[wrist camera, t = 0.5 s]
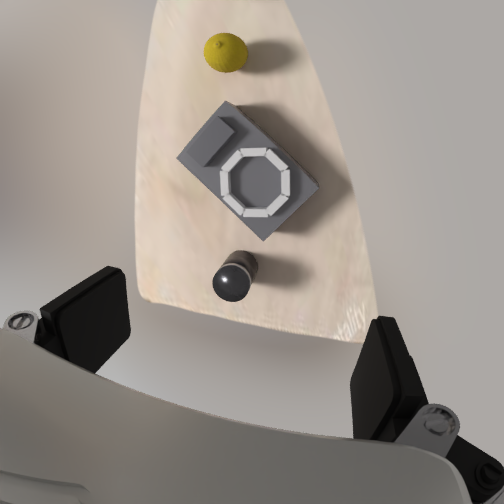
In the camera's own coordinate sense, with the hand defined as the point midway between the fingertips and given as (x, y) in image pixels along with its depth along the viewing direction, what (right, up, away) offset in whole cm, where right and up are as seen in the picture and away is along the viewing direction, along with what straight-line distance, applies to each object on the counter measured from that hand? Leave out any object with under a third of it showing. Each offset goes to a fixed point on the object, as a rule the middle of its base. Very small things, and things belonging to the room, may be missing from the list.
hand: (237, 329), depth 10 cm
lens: (-1, +1, +36) cm, 36 cm away
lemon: (-2, +30, +26) cm, 40 cm away
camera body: (+1, +14, +31) cm, 34 cm away
